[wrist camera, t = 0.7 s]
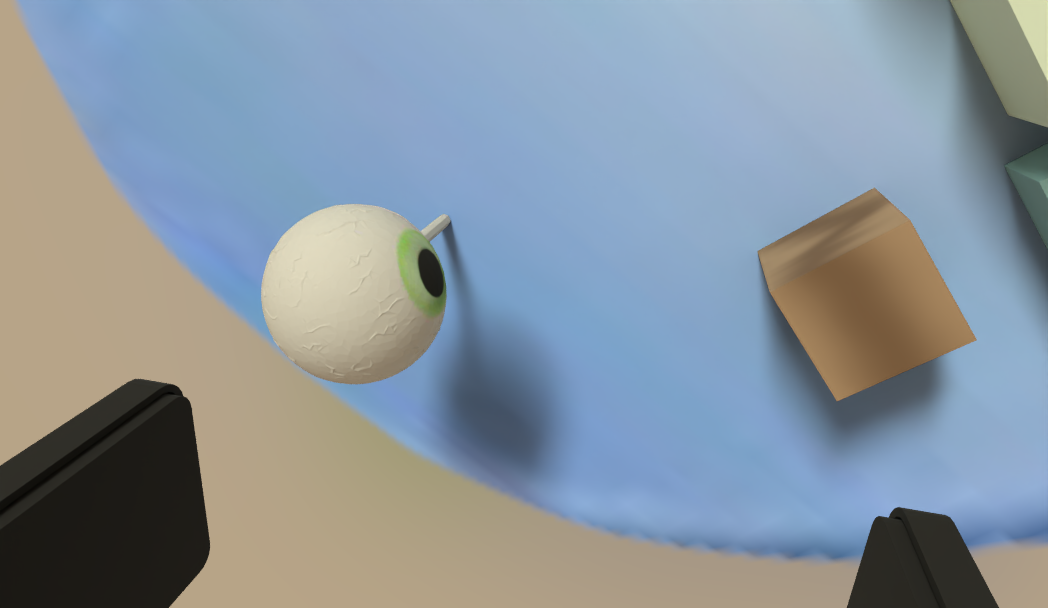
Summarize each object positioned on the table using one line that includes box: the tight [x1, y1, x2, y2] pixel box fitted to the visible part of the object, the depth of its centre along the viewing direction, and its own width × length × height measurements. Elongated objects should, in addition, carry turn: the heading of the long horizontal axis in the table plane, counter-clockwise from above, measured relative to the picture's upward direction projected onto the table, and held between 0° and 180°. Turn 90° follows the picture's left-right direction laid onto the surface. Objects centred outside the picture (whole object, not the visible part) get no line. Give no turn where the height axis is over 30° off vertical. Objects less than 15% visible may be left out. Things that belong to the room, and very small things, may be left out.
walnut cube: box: [758, 188, 976, 401], centre depth 33 cm, size 6×6×6 cm
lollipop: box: [261, 204, 451, 384], centre depth 32 cm, size 7×7×15 cm
